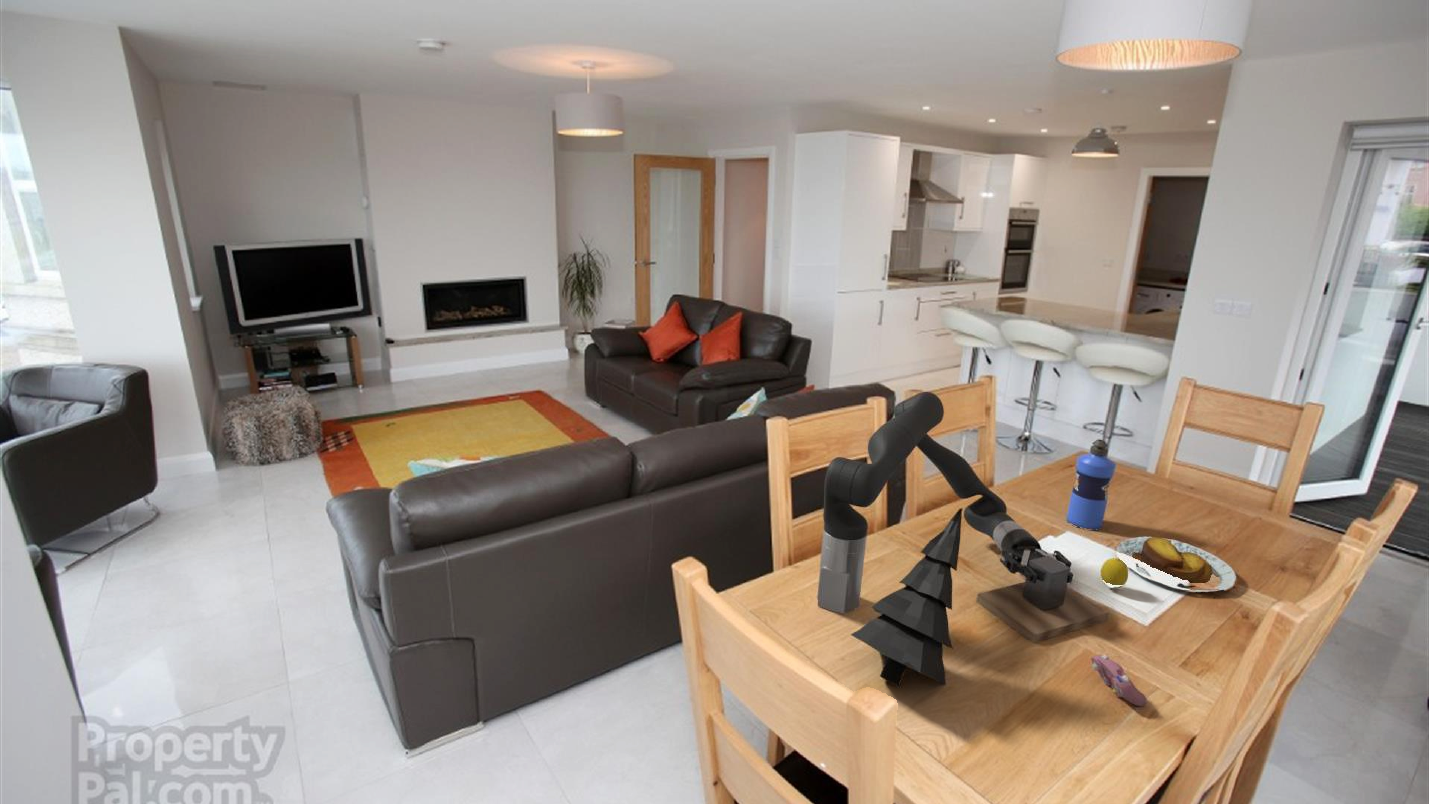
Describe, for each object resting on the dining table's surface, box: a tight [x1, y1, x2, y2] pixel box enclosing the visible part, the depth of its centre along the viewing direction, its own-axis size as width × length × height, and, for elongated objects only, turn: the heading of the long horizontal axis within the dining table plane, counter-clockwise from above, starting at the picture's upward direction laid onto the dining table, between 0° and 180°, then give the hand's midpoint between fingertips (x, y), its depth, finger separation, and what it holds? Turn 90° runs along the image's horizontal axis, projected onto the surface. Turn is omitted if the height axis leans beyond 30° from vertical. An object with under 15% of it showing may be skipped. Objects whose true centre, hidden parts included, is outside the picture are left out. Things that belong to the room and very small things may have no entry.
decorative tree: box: [850, 507, 964, 687], centre depth 129 cm, size 15×15×35 cm
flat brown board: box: [975, 581, 1110, 644], centre depth 151 cm, size 22×16×7 cm
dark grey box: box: [1023, 556, 1071, 610], centre depth 150 cm, size 6×6×9 cm
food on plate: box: [1114, 536, 1239, 593], centre depth 171 cm, size 25×25×7 cm
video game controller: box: [1090, 654, 1147, 707], centre depth 127 cm, size 10×5×7 cm, turn 5°
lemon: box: [1100, 557, 1129, 586], centre depth 161 cm, size 6×6×8 cm
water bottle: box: [1065, 439, 1117, 531], centre depth 192 cm, size 9×9×25 cm
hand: (1053, 579), depth 147 cm, fingers closed on dark grey box, 7 cm apart
